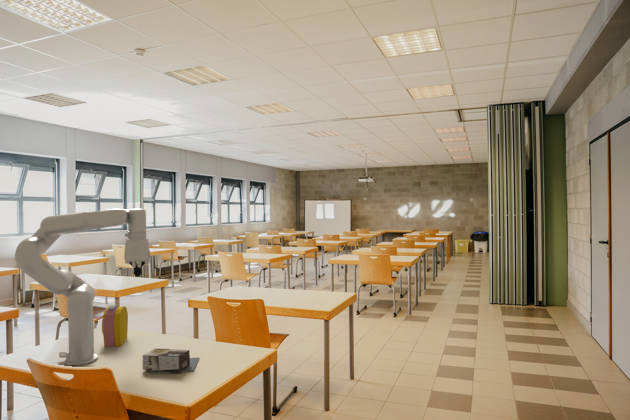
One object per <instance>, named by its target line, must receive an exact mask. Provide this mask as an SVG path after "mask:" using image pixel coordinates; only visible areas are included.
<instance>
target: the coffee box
mask: <svg viewBox="0 0 630 420" xmlns="http://www.w3.org/2000/svg"><path fill="white" fill-rule="evenodd" d="M190 358H191V356H190V349H177V348H176V349H175V348H172V349H171V348H153V349H151V350H149V351H147V352H145V353H143V355H142V370H143V371H150V372H151V371H164V372H177V373H182V372H181V371H182V370H183V369H185V368H186V367H187V366H189V365H190Z"/></svg>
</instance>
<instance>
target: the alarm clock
mask: <svg viewBox="0 0 630 420" xmlns="http://www.w3.org/2000/svg"><path fill="white" fill-rule="evenodd" d="M128 316H129V315H128V309H127V306H118V304H112V305H109V306H108V307H106V308H105V309H104V311H103V315H102V318H101V319H102V320H101V332H102V336H103V337H102V338H103V347H104V348H107V347H108V348H109V347H121V346H122V345H123V344H124V343H125V342H126V341H127V339H128V328H129V327H128V326H129V325H128V324H129V323H128V322H129V321H128V318H129V317H128ZM125 340H126V341H125Z"/></svg>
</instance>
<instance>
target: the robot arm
mask: <svg viewBox="0 0 630 420" xmlns="http://www.w3.org/2000/svg"><path fill="white" fill-rule="evenodd" d="M122 225H127V227H128V228H127V233H125V234H124V237H126V238H127V239H125V244H124V255H123V256H124V264H126V265H127V264H128V265H130V266H131V267H132V268H133V276H134V277H135V278H137V277H141V275H142V273H143V271H142V268H143V266H144V265H145V264H150V263H151V259H150V257H151V252H150V251H151V250H150V243H149V238H147V211H146V209H144V208H130V209H126V208H119V207H116V208H110V209H103V210H97V211H96V210H94V211H79V212H73V213H65V214H57V215H50V216H46V217H45V218H43V219H42V220H41V222H40V226H39V228H38V229H37V231H35V233H34V234H33V235H31V237H28V238H27V237H26V238H25V239H23V240H22V241H20V242H19V244H18V245H17V247H16V248H15V253H14V259H15V263H16V265H17V267H18V268H19V269H20V270H21V271H22V272H23V273H24V274H25V275H26V276H28V277H30V278H31V279H33V281H35V282H36V283H38V284H39V285H40V286H41V287H44V289H46V290H48V291H49V292H50V293H52V294H54V295H63V296H65V297H66V298H67V300H66V306H67V307H66V308H67V309H66V310H67V323H68V327H67V330H68V333H67V335H68V350H67V351H60V352H59V353H58V356H59V358H61V359H62V358H65V359H64V364H65V365H66V366H70V365H76V366H82V365H87V364H90V363H93V362H95V361H97V360H98V359H99V356H98V354H96V353H95V352H94V351H95V347H94V345H95V343H94V342H95V341H94V339H95V338H94V337H95V335H94V330H95V329H94V300H95V297H96V291H95V289H94V287H92V286H91V285H90V284H88V283H87V282H86V281H84V280H83V279H82V278H81V277H79V276H78V275H76V274H75V273H73V272H72V271H69V270H66V269H58V268H57V267H55V266H54V265H53V264H52V263H50V262H49V261H47V260H45V259H44V258H43V257H42V255H43V254H45V253H46V252H47V251H48V250H49V249H50V247H52V245H54V243H55V242H56V241H57V240H58V239H59V238H60V237H61V236H63V235H69V234H76V233H77V234H78V233H82V232H83V233H84V232H89V231H92V230H97V229H105V228H110V227H111V228H112V227H119V226H122ZM137 262H138V263H137Z"/></svg>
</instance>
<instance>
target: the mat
mask: <svg viewBox="0 0 630 420" xmlns="http://www.w3.org/2000/svg"><path fill="white" fill-rule="evenodd" d="M199 360H200V357H190V365H189V366H187V367H186V368H185V369H183V370H182V371H181V372H180V373H190V372H195V369H196V367H197V364H198V363H199ZM172 373H173V374H174V373H178V372H164V371H150V372H149V374H150V375H157V374H158V375H160V374H172Z"/></svg>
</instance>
